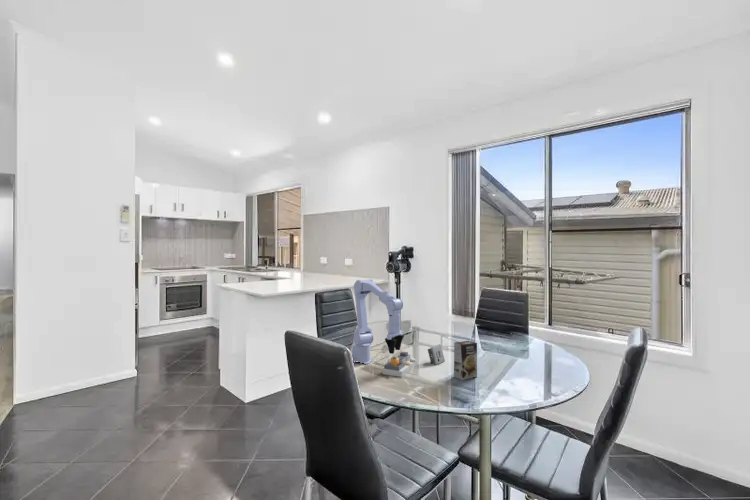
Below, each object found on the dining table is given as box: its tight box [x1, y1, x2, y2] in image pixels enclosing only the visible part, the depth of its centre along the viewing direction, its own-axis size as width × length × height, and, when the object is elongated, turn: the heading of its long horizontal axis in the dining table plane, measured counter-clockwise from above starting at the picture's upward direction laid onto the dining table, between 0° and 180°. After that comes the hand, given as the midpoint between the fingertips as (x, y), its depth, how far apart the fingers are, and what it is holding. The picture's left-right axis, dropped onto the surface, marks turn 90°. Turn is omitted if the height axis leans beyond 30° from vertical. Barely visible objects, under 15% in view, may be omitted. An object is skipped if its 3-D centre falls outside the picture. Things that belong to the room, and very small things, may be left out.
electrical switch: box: [427, 344, 446, 366], centre depth 196 cm, size 9×5×9 cm, turn 141°
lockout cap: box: [390, 356, 399, 366], centre depth 178 cm, size 4×4×5 cm
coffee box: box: [453, 340, 478, 381], centre depth 172 cm, size 9×6×16 cm
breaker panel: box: [381, 354, 418, 378], centre depth 184 cm, size 10×22×5 cm, turn 155°
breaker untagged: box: [399, 351, 409, 357], centre depth 191 cm, size 3×3×2 cm
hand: (394, 351), depth 178 cm, fingers open, 7 cm apart
